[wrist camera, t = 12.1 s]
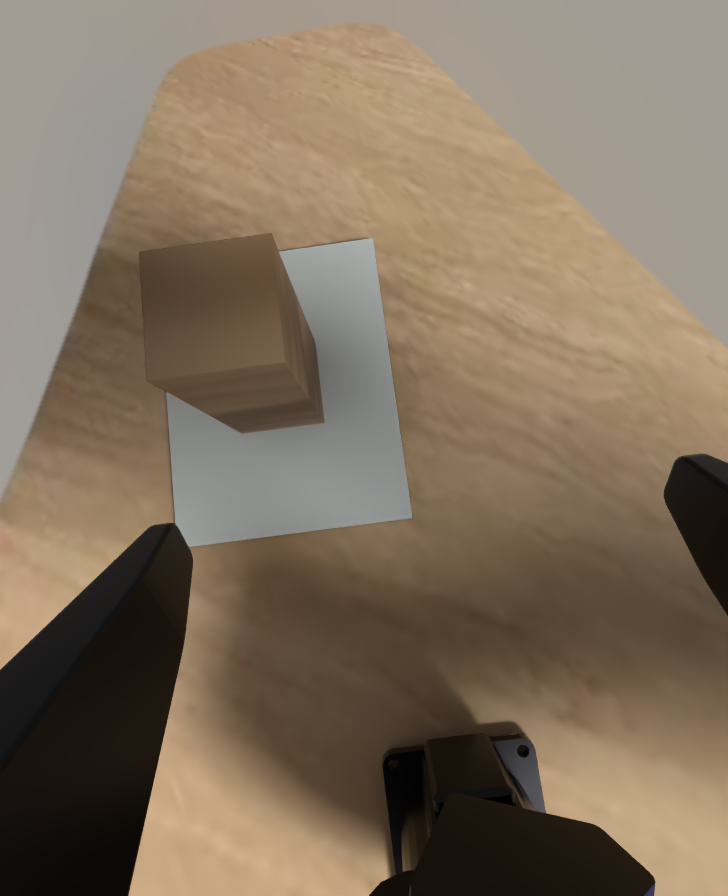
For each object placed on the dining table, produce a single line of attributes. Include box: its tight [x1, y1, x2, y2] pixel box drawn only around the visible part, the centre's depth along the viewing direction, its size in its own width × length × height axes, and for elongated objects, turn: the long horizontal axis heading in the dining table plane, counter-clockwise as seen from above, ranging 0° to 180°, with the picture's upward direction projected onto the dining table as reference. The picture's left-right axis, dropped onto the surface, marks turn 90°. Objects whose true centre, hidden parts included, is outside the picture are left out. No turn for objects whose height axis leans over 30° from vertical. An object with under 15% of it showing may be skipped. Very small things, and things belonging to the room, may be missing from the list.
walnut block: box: [139, 233, 325, 434], centre depth 18 cm, size 4×4×9 cm
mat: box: [166, 238, 412, 547], centre depth 23 cm, size 14×11×1 cm
